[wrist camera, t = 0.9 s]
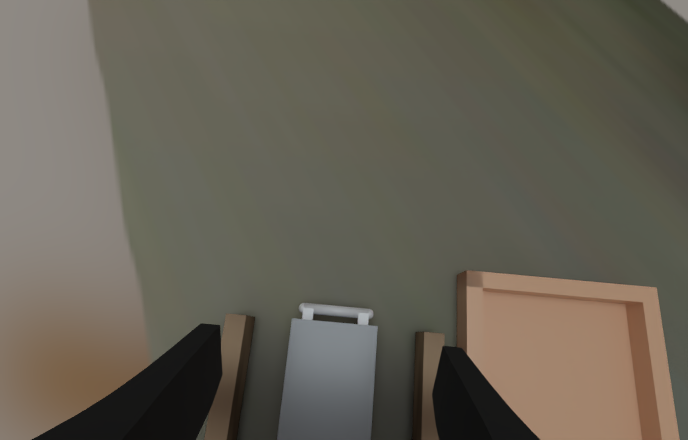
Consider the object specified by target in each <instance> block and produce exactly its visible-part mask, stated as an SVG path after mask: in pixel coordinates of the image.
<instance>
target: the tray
mask: <svg viewBox="0 0 688 440" xmlns="http://www.w3.org/2000/svg"><path fill="white" fill-rule="evenodd" d="M457 347H460V348H462V349H463V350H464V351H465V352H466V354H467V355H468V356H469V358H470V359H471V360H472V361H473V363H474V364H475V365H476V366H477V368H478V369H479V370H480V372H481V373H482V374H483V375H484V377H485V378H486V379H487V380H488V382H489V383H490V384H491V385H492V387H493V388H494V389H495V390H496V391H497V393H498V394H499V395H500V396H501V397H502V399H503V400H504V401H505V402H506V403H507V404H508V406H509V407H510V408H511V409H512V410H513V411H514V412H515V413H516V415H517V416H518V417H519V418H520V419H521V420H522V421H523V422H524V423H525V424H526V425H527V426H528V427H529V428H530V430H531V431H532V432H533V433H534V434H535V435H536V436H537V437H538V438H539V439H540V440H679V434H678V427H677V420H676V414H675V407H674V400H673V394H672V387H671V380H670V374H669V367H668V360H667V354H666V347H665V341H664V334H663V327H662V321H661V314H660V307H659V301H658V294H657V288H655V287H644V286H633V285H622V284H611V283H600V282H589V281H578V280H567V279H556V278H545V277H534V276H523V275H512V274H501V273H490V272H479V271H468V270H466V271H464V272H462V273H460V274H458V275H457Z"/></svg>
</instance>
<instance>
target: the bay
mask: <svg viewBox="0 0 688 440" xmlns="http://www.w3.org/2000/svg"><path fill="white" fill-rule="evenodd" d="M254 321H255V317H251V316H247V315H236V314H226V318H225V324H224V329H223V335H222V341H221V354H222V372H223V375H222V378H221V381H220V384H219V387H218V390H217V393H216V395H215V398H214V401H213V404H212V406H211V408H210V411H209V415H208V421H207V427H206V433H205V438H204V440H236V439H237V433H238V426H239V419H240V413H241V406H242V400H243V393H244V387H245V380H246V373H247V367H248V360H249V354H250V347H251V341H252V334H253V328H254ZM442 346H444V334H442V333H431V332H416V342H415V373H414V404H413V436H412V440H439V437H438V433H437V428H436V422H435V415H434V407H433V399H432V391H433V387H434V382H435V378H436V373H437V369H438V364H439V360H440V355H441V351H442Z"/></svg>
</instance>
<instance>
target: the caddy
mask: <svg viewBox="0 0 688 440" xmlns="http://www.w3.org/2000/svg"><path fill="white" fill-rule="evenodd" d="M299 311H300V312H301V313H303V316H302V319H294V318H292V323H291V331H290V339H289V347H288V355H287V363H286V371H285V379H284V387H283V395H282V403H281V411H280V419H279V427H278V435H277V440H371V428H372V412H373V395H374V378H375V362H376V345H377V329H378V326H370V325H368V319H371V318H372V317H373V315H374V313H373V311H372V310H371V309H367V308H356V307H345V306H334V305H323V304H312V303H301V304H300V305H299ZM314 314H317V315H328V316H339V317H350V318H358V320H357V324H348V323H338V322H327V321H316V320H313V318H314Z"/></svg>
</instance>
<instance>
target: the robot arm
mask: <svg viewBox="0 0 688 440" xmlns="http://www.w3.org/2000/svg"><path fill="white" fill-rule="evenodd" d="M222 375H223V372H222V354H221V336H220V325H212V324H202V323H201V324H200V325H199V326H198V327H196V328H195V329H194V330H192V331H191V332H190V333H189V334H188V335H186V336H185V337H184V338H183V339H182V340H180V341H179V342H178V343H177V344H176V345H174V346H173V347H172V348H171V349H169V350H168V351H167V352H166V353H165V354H163V355H162V356H161V357H159V358H158V359H157V360H156V361H154V362H153V363H152V364H151V365H149V366H148V367H147V368H146V369H144V370H143V371H142V372H140V373H139V374H138V375H136V376H135V377H133V378H132V379H131V380H129V381H128V382H126V383H125V384H124V385H122V386H121V387H120V388H118V389H117V390H115V391H114V392H112V393H111V394H109V395H108V396H106V397H105V398H103V399H102V400H100V401H98V402H97V403H95V404H94V405H92V406H90V407H89V408H87V409H86V410H84V411H82V412H81V413H79V414H77V415H76V416H74V417H72V418H70V419H68V420H67V421H65V422H63V423H61V424H59V425H58V426H56V427H54V428H52V429H50V430H49V431H47V432H45V433H43V434H41V435H40V436H38V437H36V438H34V439H32V440H196V438H197V436H198V434H199V432H200V430H201V428H202V425H203V423H204V421H205V419H206V417H207V415H208V413H209V411H210V408H211V406H212V404H213V401H214V398H215V395H216V393H217V390H218V387H219V384H220V381H221V378H222ZM432 399H433V407H434V415H435V422H436V428H437V433H438V437H439V440H540V439H539V438H538V437H537V436H536V435H535V434H534V433H533V432H532V431H531V430H530V428H529V427H528V426H527V425H526V424H525V423H524V422H523V421H522V420H521V419H520V418H519V417H518V416H517V415H516V413H515V412H514V411H513V410H512V409H511V408H510V407H509V406H508V404H507V403H506V402H505V401H504V400H503V399H502V397H501V396H500V395H499V394H498V393H497V391H496V390H495V389H494V388H493V387H492V385H491V384H490V383H489V382H488V380H487V379H486V378H485V377H484V375H483V374H482V373H481V372H480V370H479V369H478V368H477V366H476V365H475V364H474V363H473V361H472V360H471V359H470V358H469V356H468V355H467V354H466V352H465V351H464V350H463V349H462V348H460V347H449V346H442V351H441V355H440V360H439V364H438V369H437V373H436V378H435V382H434V387H433V391H432Z"/></svg>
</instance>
